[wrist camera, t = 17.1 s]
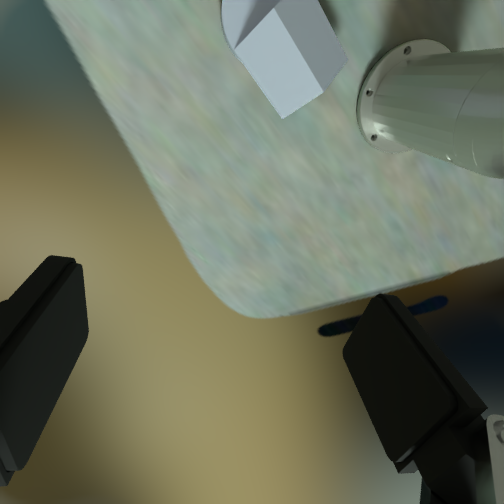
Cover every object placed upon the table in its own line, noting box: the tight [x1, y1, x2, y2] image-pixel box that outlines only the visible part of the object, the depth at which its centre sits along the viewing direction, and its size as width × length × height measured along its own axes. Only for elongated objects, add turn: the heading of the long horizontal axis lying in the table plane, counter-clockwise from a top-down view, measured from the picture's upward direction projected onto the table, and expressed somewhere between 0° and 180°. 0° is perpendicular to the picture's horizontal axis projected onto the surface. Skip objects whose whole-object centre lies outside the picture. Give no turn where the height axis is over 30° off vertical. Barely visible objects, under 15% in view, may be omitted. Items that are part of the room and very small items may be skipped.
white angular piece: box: [221, 0, 348, 119], centre depth 29 cm, size 9×7×13 cm
